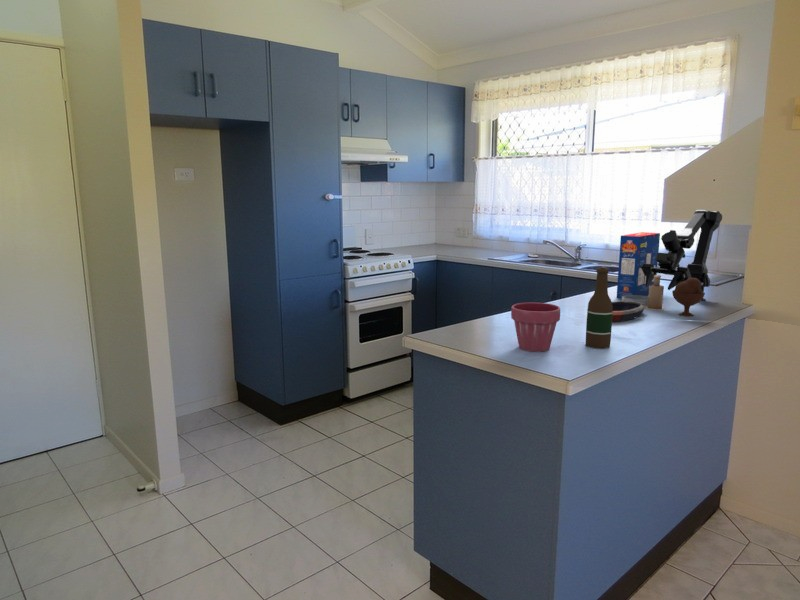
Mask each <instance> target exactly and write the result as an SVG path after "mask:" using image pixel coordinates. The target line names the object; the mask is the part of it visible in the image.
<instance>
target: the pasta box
mask: <svg viewBox="0 0 800 600" xmlns="http://www.w3.org/2000/svg"><path fill="white" fill-rule="evenodd" d="M660 240H661V232H635V233H630V234H629V233H628V234H623V235H622V234H621V235H620V244H619V245H620V246H619V254H618V255H619V258H618V273H617V283H616V284H617V285H616V286H617V287H616V299H622V296H625V295H643V296H648V295H649V286H648V287H646V286H645V284H646V276H645V275H644V273H643V271H642V269H641V267H642V265H643V264H644V263H647V264H653V265H654V267H656V268H658V263H659V262H657V261H656V260H655V259H656V256H657V253H660V252H659V250H660ZM656 275H658V273H656ZM649 285H654V279H653V280H652V282H651V283H650V284H649Z"/></svg>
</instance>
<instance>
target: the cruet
mask: <svg viewBox="0 0 800 600" xmlns="http://www.w3.org/2000/svg"><path fill="white" fill-rule="evenodd" d="M661 278H662V275H660V274H657V275H654V285H649V295H648V308H650V309H649V310H651V309H662V307H663V303H664V302H663V301H664V293H665V292H664V291H665V290H664V289H665V286H664V285H661V284H660V283H661Z"/></svg>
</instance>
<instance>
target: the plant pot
mask: <svg viewBox="0 0 800 600" xmlns="http://www.w3.org/2000/svg"><path fill="white" fill-rule="evenodd" d="M510 310H511V311H510V312H511V313H510V316H511V320H513V322H514V327H515V333H516V338H517V343H518V347H519V349H521V350H523V351H525V352H538V353H539V352H546V351H549V350H550V348H551V345H552V340H553V337H554V333H555V331H556V327H557V323H558V322H559V321H560V320H561V306H559V305H556V304H551V303H546V302H534V301H533V302H531V301H530V302H519V303H515V304H513V305H512V306H511V308H510Z"/></svg>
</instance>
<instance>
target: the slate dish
mask: <svg viewBox="0 0 800 600" xmlns="http://www.w3.org/2000/svg"><path fill="white" fill-rule="evenodd" d="M621 301H634V302H640V303H644V304H645V306H648V296H643V295H625V296H622V298H621Z"/></svg>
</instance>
